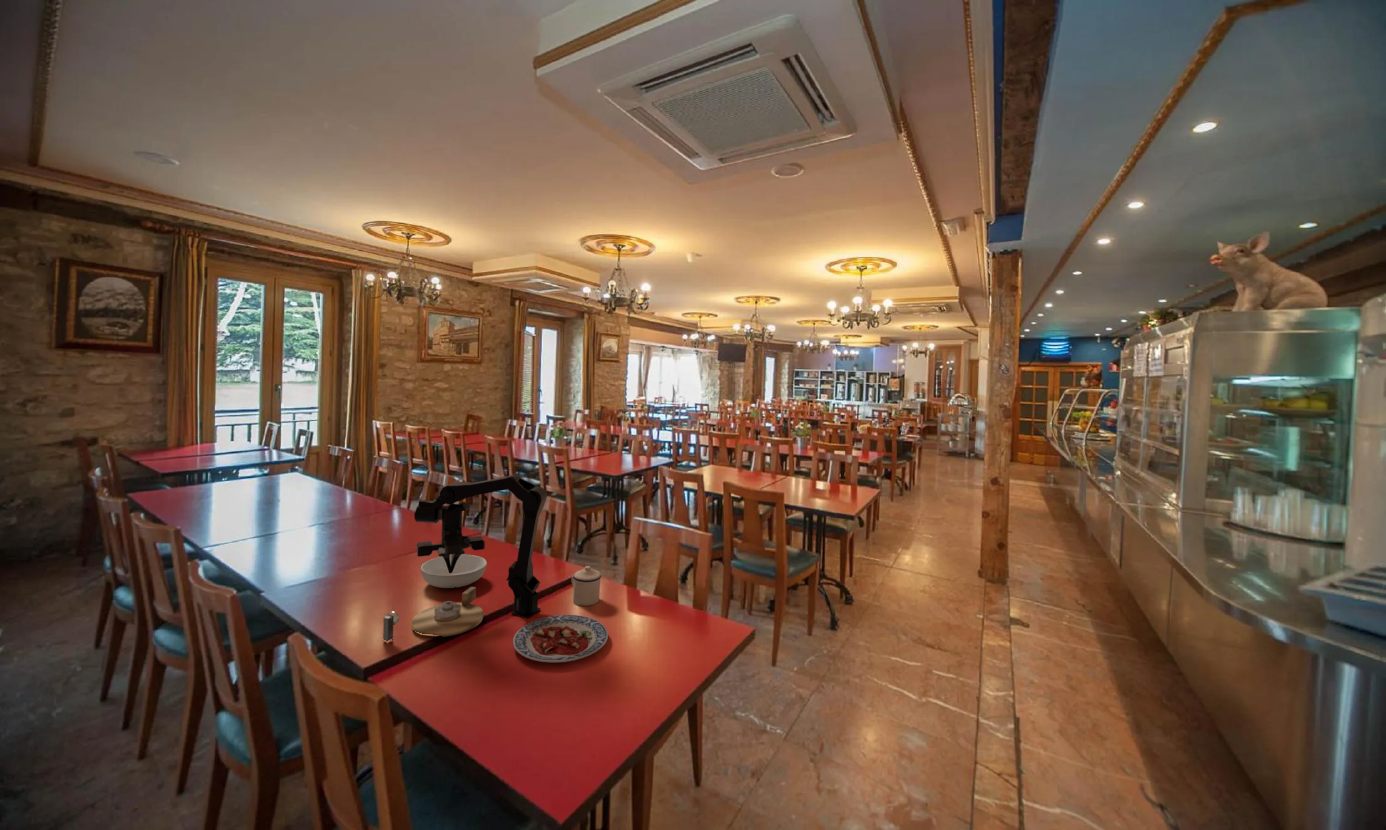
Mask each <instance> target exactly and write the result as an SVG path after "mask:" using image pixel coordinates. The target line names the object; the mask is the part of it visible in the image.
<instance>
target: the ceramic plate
mask: <svg viewBox="0 0 1386 830" xmlns="http://www.w3.org/2000/svg"><path fill="white" fill-rule="evenodd" d="M608 638H609V632H608V630H607V628H606V627H605V625H604V624H603V623H602V622H600V621H598V620H596V619H593V618H592V617H587V616H584V615H579V614H578V615H577V614H558V615H550V616H546V617H545V616H544V617H542V618H538V619H536V620H533V621H531V622H529V623H527V624H525V625H523V626H522V627H521V628H520V629H519V630H517V632H516V633H515V634H514V636H513V639H512V643H513V648H514V649H515V651H516V652H517V653H518V654H519V655H521V656H522V657H523V658H526V659H530V660H532V661H537V662H541V663H556V664H557V663H566V662H572V661H577V660H580V659H584V658H586V657H589V656H591V655H593V654H595V653H596V652H598V651H600V650H601V649H602V648H603V647H604V646H605V644H607V641H608Z"/></svg>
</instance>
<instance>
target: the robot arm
mask: <svg viewBox="0 0 1386 830" xmlns="http://www.w3.org/2000/svg"><path fill="white" fill-rule="evenodd" d="M507 490H508V491H509V492H511V493H512V495H514V497H515V498H516V499H518V500H519V501H521V502H522V512H523V517H524V518H523V523H522V528H521V529H522V530H521V535H520V541H519V546H518V547H519V548H518V552H517V557H516V560H515V561H514V562H513V563H512V564H511V565H510V566H509V567H508V576H507V578H506V581H508V582H507V584H508V588H510V590H512V593H513V596H514V597H513V611H511V613H510V614H511V615H513V616H519V617H521V618H526V619H529V618H530V617H533V616H534V615H536V614H537V613H538V612H540V611H541V608H540V607H538V606H539V605H538V604H539V592H537V591H536V590H538V588H539V586H540V584H541V581H540V580H539V579H538V578H537V577H536V576H535V575H534V564H533V559H532V558H533V553H534V546H535V541H536V536H537V528H538V524H539V518H540V516H541V513H542V511H543V508H544V506H545V504H546V501H547V498H548V493H547V491H546V489H545V488H543V487H542V486H538V485H535V484H534V483H532V482H530V481H528V480H525V479H523V478H521V477H520V476H518V475H516V474H511V475H509V476H503V477H498V478H493V479H487V480H482V481H476V482H475V481H474V482H469V481H454V482H452V483H450V484H447V485H446V486H443V487H442V488H441V489H440V491H439V496H438V497H437V498H436V499H435V500H427V499H421V500H419V501H418V505H417V507H416V509H415V511H414V514H413V515H414V520H415V522H417V523H430V524H437V523H438V522H439V521H441V537H440V539H441V540H440V541H441V542H440V543H433V542H432V541H431V540H430V541H418V543H417V544H416V556H417V557H428V556H431V555H432V553H433V552H435V551H436V552H437V555H438V557H443V558H444V560H445V562H446V565H447V568H448V571H449V573H452V572H453V569H454V567H455V564H456V562H457V560H458V558H459V556H460V555H461V554H465V553H466V551H465V549H468V548H470V547H471V549H472V550H473V551H479V550H484V549H485V548H486V547H485V546H486V542H485V540H484V538H483V537H482V535H477V536H470V535H463V512H465V511H468V510H469V509H470V508H471V507H470V505H469V504H467V503H466V501H463V500H466V499H468V498H470V497H474V496H478V495H479V496H481V495H485V494H490V493H496V492H500V491H501V492H502V491H507ZM461 501H462V502H461ZM457 502H460V503H457ZM450 555H452V557H451V565H450Z"/></svg>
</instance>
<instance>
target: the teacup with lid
mask: <svg viewBox="0 0 1386 830" xmlns="http://www.w3.org/2000/svg"><path fill="white" fill-rule="evenodd" d="M601 579H602V574H601V572H600V571H599V570H595V569H593V568H591V566H590V565H586V566H585V567H584V568H582V569H580V570H578V571H575V572H574V574H573V575H572V576H571V586H572V588H573V592H572V593H573V594H572V595H573V597H572V600H573V603H574V604H575V605H578V606H584V607H588V606H589V607H591V606H593V605H596V604H597V603H599V600H600V594H601V593H600V592H601V590H600V589H601Z"/></svg>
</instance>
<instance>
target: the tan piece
mask: <svg viewBox="0 0 1386 830" xmlns="http://www.w3.org/2000/svg"><path fill="white" fill-rule="evenodd" d="M476 590H477V587H475V586H470V587H469V588H467V589H466V590H465V591H464V592H461V602H455V603H456V604H459V605H460V606H461V615H460V617H459V618H458V619H456V620H453V621H450V622H438V621H436V620H435V619H434V611H435V608H436V607H438V606H440V605H441V604H439V605H434V606H432V607H429V608H426V609H424V610H422V611H420V612H419V613H417V614H416V615H415V616H414V617H413V619H412V622H411V629H412V628H413V629H414V631H416V632H419V633H422V634H433V635H440V636H442V637H441V638H444V637H451V636H452V637H453V636H456V635H461V634H463V633H466V632H468V631H471V630H473V629H475V628H476V627H477V626H478V625H480V624H481V623H482V621H483V619H484V610H483V609H482V607H480V606H479V605H476V604H473V603H472V602H474V601H475V600H476V596H477V595H476V594H477V591H476ZM413 629H412V630H413ZM414 631H413V632H414Z"/></svg>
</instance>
